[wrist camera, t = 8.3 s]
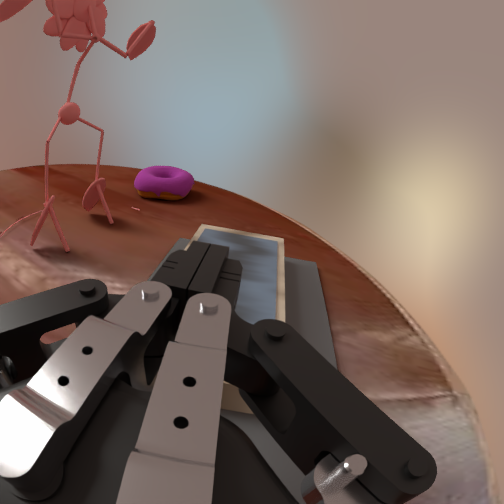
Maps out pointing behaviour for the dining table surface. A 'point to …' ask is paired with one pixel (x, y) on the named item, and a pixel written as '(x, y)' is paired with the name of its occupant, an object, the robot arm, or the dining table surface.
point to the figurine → (76, 33)
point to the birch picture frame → (251, 284)
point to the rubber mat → (313, 331)
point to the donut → (163, 183)
